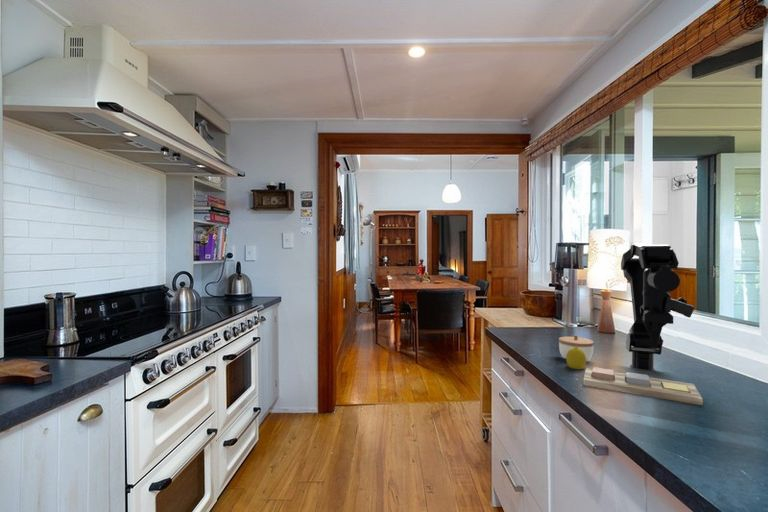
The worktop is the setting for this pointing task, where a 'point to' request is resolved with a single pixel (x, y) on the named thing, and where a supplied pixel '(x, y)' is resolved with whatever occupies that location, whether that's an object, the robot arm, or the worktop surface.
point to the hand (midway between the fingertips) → (655, 343)
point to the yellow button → (675, 387)
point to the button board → (645, 388)
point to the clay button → (603, 373)
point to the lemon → (576, 358)
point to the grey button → (637, 379)
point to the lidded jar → (576, 345)
